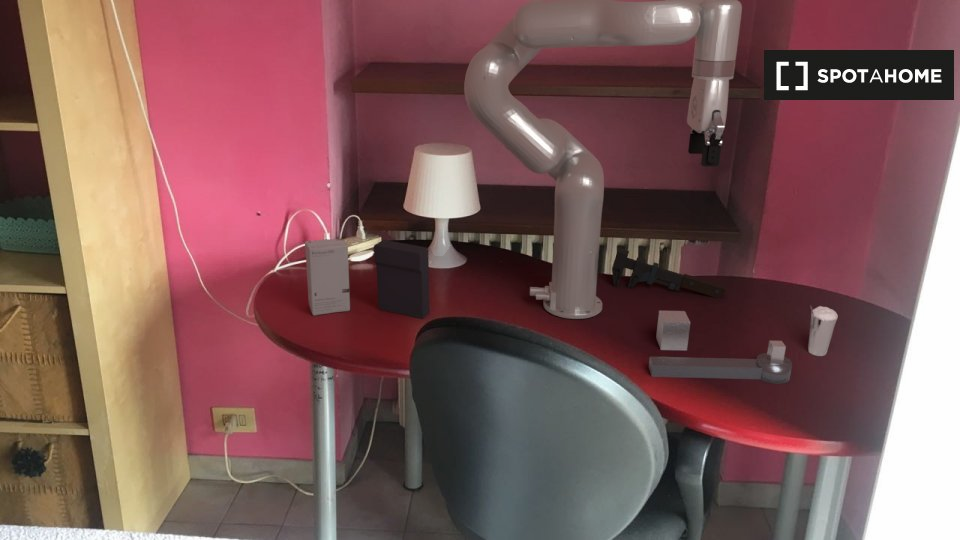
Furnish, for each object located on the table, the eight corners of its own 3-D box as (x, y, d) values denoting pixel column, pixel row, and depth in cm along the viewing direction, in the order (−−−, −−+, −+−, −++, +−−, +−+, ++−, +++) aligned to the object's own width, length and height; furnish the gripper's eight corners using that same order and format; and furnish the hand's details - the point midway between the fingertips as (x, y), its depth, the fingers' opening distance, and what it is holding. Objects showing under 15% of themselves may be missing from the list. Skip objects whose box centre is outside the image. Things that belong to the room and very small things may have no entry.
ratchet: (652, 380, 135) (656, 348, 133) (647, 364, 141) (650, 333, 139) (794, 384, 135) (800, 352, 132) (783, 367, 140) (788, 336, 138)
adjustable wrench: (714, 318, 170) (606, 284, 174) (714, 313, 172) (608, 279, 176) (727, 285, 166) (617, 251, 170) (727, 281, 169) (618, 247, 173)
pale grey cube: (660, 349, 146) (663, 322, 144) (656, 337, 151) (659, 310, 148) (686, 350, 146) (690, 322, 143) (681, 338, 150) (684, 311, 148)
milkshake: (795, 347, 147) (804, 300, 144) (822, 346, 148) (831, 299, 144) (807, 358, 143) (816, 310, 139) (834, 357, 144) (844, 309, 140)
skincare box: (312, 316, 158) (306, 250, 153) (308, 305, 164) (302, 240, 158) (352, 310, 161) (348, 245, 155) (347, 299, 166) (342, 235, 161)
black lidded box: (431, 312, 161) (430, 246, 155) (421, 320, 157) (420, 253, 151) (387, 302, 165) (384, 238, 159) (376, 310, 161) (373, 244, 155)
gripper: (681, 63, 149) (673, 149, 155) (705, 76, 133) (695, 171, 139) (719, 63, 149) (709, 149, 155) (748, 76, 133) (735, 171, 139)
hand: (702, 159), depth 147 cm, fingers open, 9 cm apart
